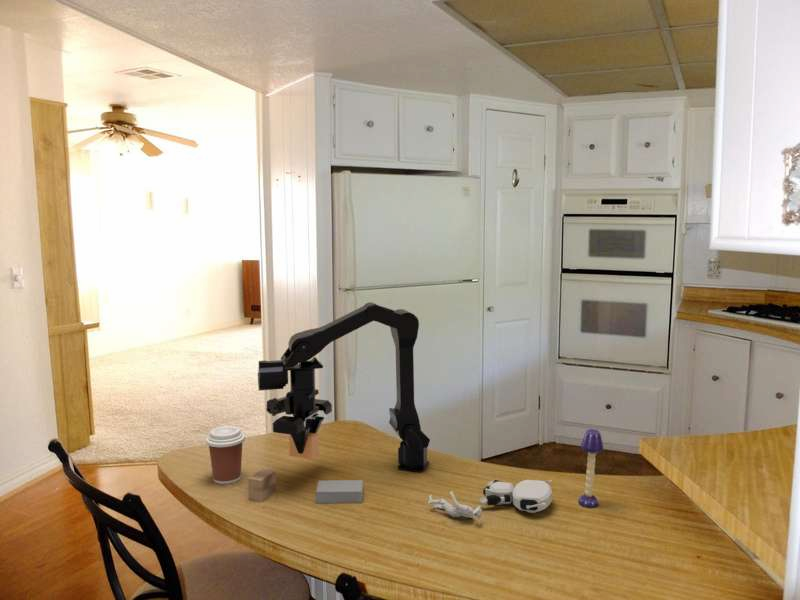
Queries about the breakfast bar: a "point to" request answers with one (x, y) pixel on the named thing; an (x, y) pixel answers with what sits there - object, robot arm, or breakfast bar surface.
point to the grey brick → (339, 491)
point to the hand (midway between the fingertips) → (304, 450)
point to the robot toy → (519, 494)
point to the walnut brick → (262, 484)
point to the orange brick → (306, 447)
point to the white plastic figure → (456, 508)
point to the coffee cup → (226, 453)
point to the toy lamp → (590, 465)
